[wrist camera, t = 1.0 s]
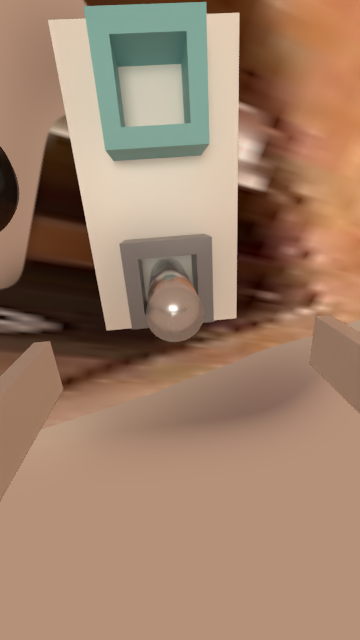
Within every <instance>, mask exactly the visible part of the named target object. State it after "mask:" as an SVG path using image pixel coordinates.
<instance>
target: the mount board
mask: <svg viewBox="0 0 360 640" xmlns="http://www.w3.org/2000/svg"><path fill="white" fill-rule="evenodd" d="M206 18H207V60H208V101H209V142H210V144H209V145H208V147H207V148H206V149H205V151H204V152H203V154H202V155H199V156H184V157H168V158H152V159H137V160H121V161H113V160H112V158H111V157H110V156H109V154H108V153H107V152H106V151H105V145H104V139H103V132H102V125H101V119H100V112H99V105H98V99H97V92H96V85H95V79H94V72H93V65H92V59H91V52H90V45H89V39H88V32H87V25H86V19H64V20H63V19H62V20H48V23H49V28H50V33H51V39H52V44H53V49H54V55H55V60H56V65H57V70H58V76H59V81H60V86H61V91H62V97H63V102H64V108H65V113H66V118H67V123H68V129H69V134H70V139H71V145H72V150H73V155H74V161H75V166H76V171H77V176H78V182H79V187H80V192H81V198H82V203H83V208H84V213H85V219H86V224H87V229H88V235H89V240H90V245H91V251H92V256H93V261H94V266H95V272H96V277H97V282H98V288H99V293H100V298H101V304H102V309H103V314H104V319H105V325H106V330H118V329H128V328H132V330H133V329H143V328H149V326H148V324H147V320H146V310H147V301H148V292H149V283H150V274H151V270H152V268H153V266H154V265H155V263H157V262H158V261H159V260H161V259H165V258H171V259H174V260H177V261H178V262H179V263H180V264H181V265H182V266H183V268H184V270H185V272H186V274H187V275H188V277H189V279H190V281H191V283H192V285H193V287H194V289H195V291H196V293H197V295H198V297H199V299H200V301H201V303H202V305H203V309H204V319H203V323H206V322H214V320H222V319H233V318H236V301H237V198H238V96H239V13H221V14H206ZM118 73H119V82H120V90H121V98H122V106H123V114H124V122H125V127H134V126H151V125H168V124H184V107H183V89H182V70H181V64H168V65H147V66H125V67H118Z"/></svg>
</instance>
